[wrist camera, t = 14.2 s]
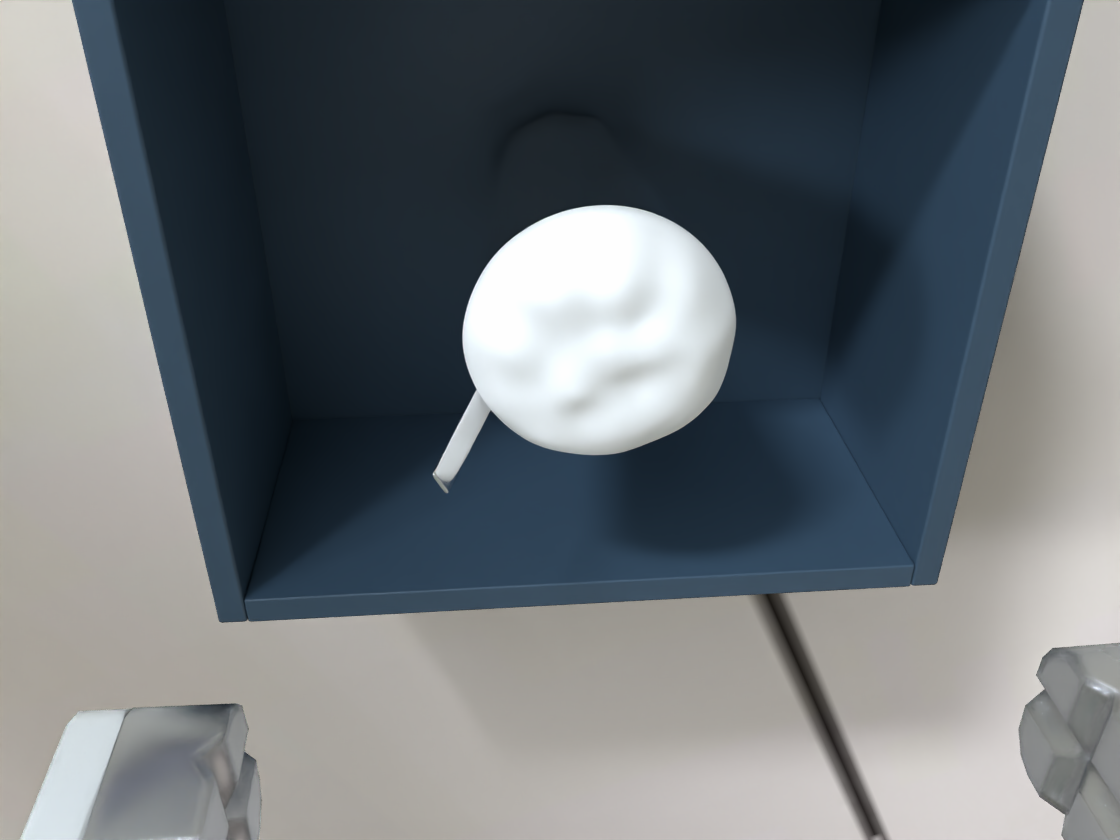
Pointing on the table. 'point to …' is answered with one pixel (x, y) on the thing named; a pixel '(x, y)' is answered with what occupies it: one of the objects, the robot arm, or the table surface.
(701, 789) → the table surface
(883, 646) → the table surface
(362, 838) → the table surface
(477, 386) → the milkshake
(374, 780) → the table surface
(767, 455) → the tote
